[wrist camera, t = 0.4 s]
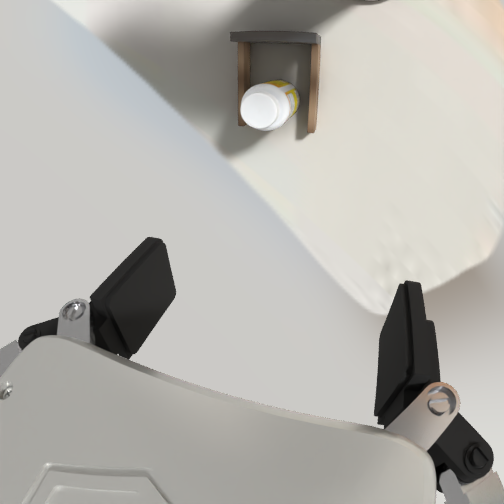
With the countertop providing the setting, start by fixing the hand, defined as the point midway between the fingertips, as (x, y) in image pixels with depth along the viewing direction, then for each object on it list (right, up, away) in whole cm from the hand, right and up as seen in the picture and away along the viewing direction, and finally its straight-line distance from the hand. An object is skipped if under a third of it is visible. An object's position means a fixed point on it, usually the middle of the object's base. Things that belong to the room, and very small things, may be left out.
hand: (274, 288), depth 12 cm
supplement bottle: (+3, +22, +25) cm, 34 cm away
